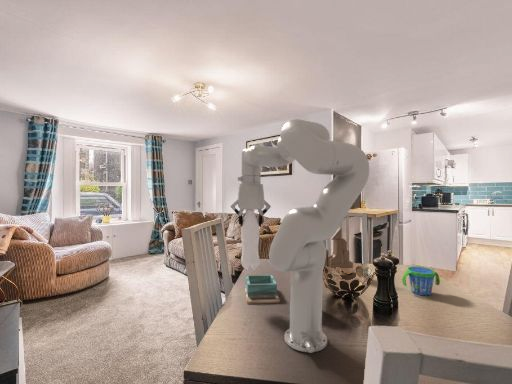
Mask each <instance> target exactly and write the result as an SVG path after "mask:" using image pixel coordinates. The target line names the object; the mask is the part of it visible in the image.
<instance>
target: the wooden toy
mask: <svg viewBox="0 0 512 384" xmlns="http://www.w3.org/2000/svg"><path fill="white" fill-rule="evenodd" d="M342 230H343V229H342V227H340V226H339V228H338V230H337V231H336V233H335V234H334V235H333V237H332V238H330V239H329V240H333V242H332V243H333V244H332V248H333V249H332V253H331V255H330V256H329V250H328V249H327V248H326V259H325V264H324V266H327V267H331V268H336V267H340V268H353V269H354V262H353V261H351V260H350V250H348V247H347V246H348V242H347V241H346V239H345V238H343V237H342V235H343V234H342V232H343V231H342Z"/></svg>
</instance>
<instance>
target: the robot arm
mask: <svg viewBox="0 0 512 384" xmlns="http://www.w3.org/2000/svg"><path fill="white" fill-rule="evenodd" d="M330 139H331V137H330V132H329V130H328V129H327V127H326V126H325V125H323V124H322V123H318V122H315V121H310V120H305V119H297V118H296V119H295V118H294V119H290V120H289V121H287V122H286V123H285V124H284V125H283V127H282V128H281V130H280V134H279V137H278V140H277V142H276V147H275V146H270V145H269V146H268V145H267V146H266V145H258V144H257V145H253V146H252V145H251V147H249V148H244V149H242V151H241V175H240V177H239V176H238V177H237V181H238V182H241V183H239V186H238V193H237V199H236V201H234V202H233V203H231V205H230V208H231V209H232V210H233V211H234V212H235V213H236V215H238V225H239V226H240V227H241V226H242V225H243V219H244V216H243V214H244V213H243V212H244V211H246V210H257V213H258V215H257V217H258V218H257V220H258V223H259V227H262V225H263V223H264V222H263V220H264V219H263V217H264V215H265V214H266V213H267V212H268V211H269V210H270V208H272V206H271V205H270V204H269V203H268V202H267V201H266V200H265V189H264V184H262V181H261V177H262V175H261V173H262V167H265V168H267V167H268V168H280V167H284V166H287V165H290V164H292V163H293V162H294V161H296V162H297V163H298V164H299V165H300V166H301V167H303V168H304V170H306V171H307V172H309V173H311V174H315V175H324V176H326V175H329V176H335V177H333V179H332V180H331V181H330V182H329V183H327V185H326V186H324V188H323V189H322V191H321V192H320V194H319V195H318V198H317V200H316V201H315V202H314V204H313V205H310V206H305V207H303V206H302V207H301V206H300V207H296V208H293V209H291V210H289V211H288V212H287V213H286V214H285V215H284V217H283V218H282V220H281V223H280V225H279V227H278V230H277V231H276V234H275V235H274V237H273V240H272V241H271V244H270V246H269V251H268V256H269V257H268V258H269V263H270V265H271V267H272V268H273V269H274V270H276V271H277V272H279V273H289V272H291V274H290V280H289V328H288V329H287V330H286V331H285V332H284V333H283V334H284V335H283V336H284V339H283V340H284V342H285V343H286V344H287V346H289V347H290V348H292V349H293V350H295V351H299V352H303V353H309V354H313V353H316V352H319V351H323V349H326V347H327V346H328V338H327V335H326V334H325V333H324V332H323V326H322V325H323V280H324V278H323V277H324V274H323V269H324V264H325V259H326V249H327V248H326V245H325V244H326V243H324V241H327V240H331V239H330V238H332V237H333V235H334V234H335V233H336V231H337V230H338V228H339V227H340V226H341V225H342V223H343V222H344V219H345V218H346V216H347V215H348V213H349V211H350V209H351V208H352V206H353V204H354V203H355V202H356V200H357V199H358V197H359V196H360V194H361V193H362V191H363V190H364V188H365V187H366V185H367V182H368V179H369V176H370V162H369V159H368V157H367V154H366V153H365V152H364V150H363V149H362V148H360V147H359V146H356V145H354V144H352V143H349V142H348V143H347V142H342V141H336V140H335V141H334V140H330ZM236 206H237V207H238V208H237V207H236ZM238 209H239V210H238Z"/></svg>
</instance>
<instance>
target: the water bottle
mask: <svg viewBox="0 0 512 384" xmlns="http://www.w3.org/2000/svg"><path fill="white" fill-rule="evenodd" d="M255 210H256V209H254V210H245V215H244V216H243V225H242V226H240V227H241V228H240V231H241V233H240V234H241V235H240V236H241V238H240V241H241V249H242V250H241V257H240V262H241V266H242V268H244V270H249V269H251V270H253V271H254V270H256V269H257V268H258V266H259V264H260V256H259V243H260V226H259V223H258V218H257V217H256V214H255Z"/></svg>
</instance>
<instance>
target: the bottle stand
mask: <svg viewBox="0 0 512 384" xmlns="http://www.w3.org/2000/svg"><path fill="white" fill-rule="evenodd" d="M244 292H245V299H246V304H247V305H250V304H255V305H256V304H273V303H275V304H276V303H280V302H281V300H280V297H279V296H278V283H277V282H276V279H275V278H274V276H273V274H252V275H250V274H247V275H245V286H244Z"/></svg>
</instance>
